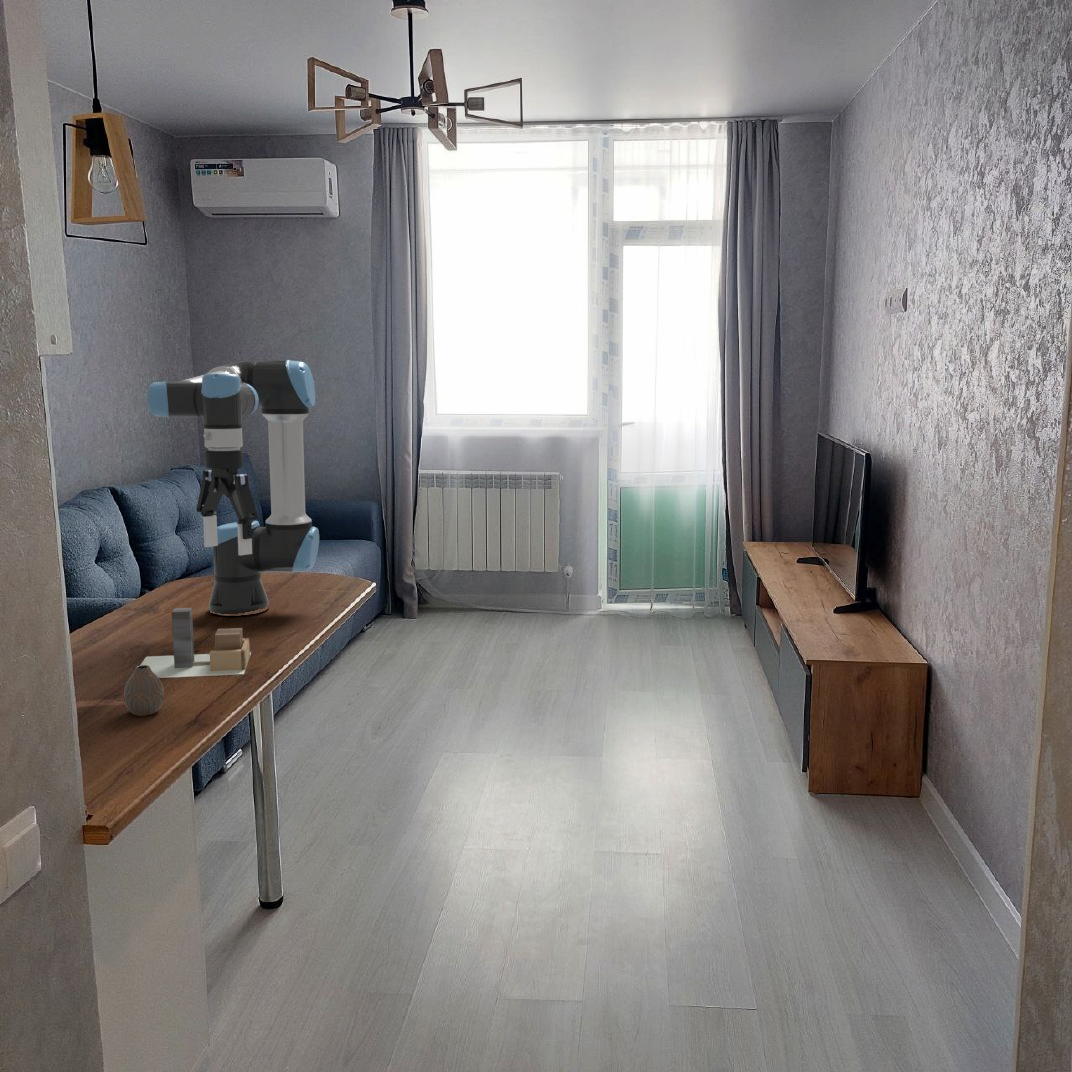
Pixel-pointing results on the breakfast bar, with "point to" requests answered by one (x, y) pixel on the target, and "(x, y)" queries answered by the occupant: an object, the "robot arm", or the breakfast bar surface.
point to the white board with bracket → (219, 665)
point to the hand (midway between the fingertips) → (227, 550)
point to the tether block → (184, 639)
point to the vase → (143, 692)
